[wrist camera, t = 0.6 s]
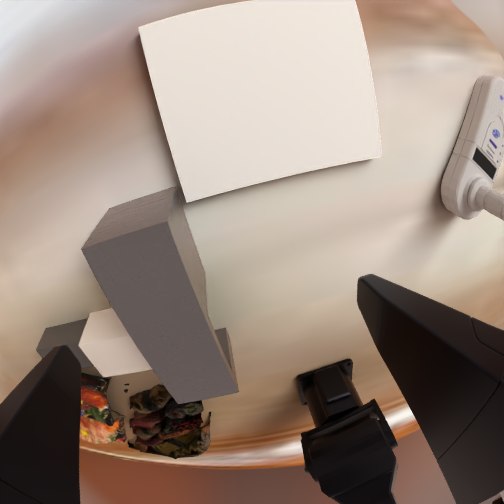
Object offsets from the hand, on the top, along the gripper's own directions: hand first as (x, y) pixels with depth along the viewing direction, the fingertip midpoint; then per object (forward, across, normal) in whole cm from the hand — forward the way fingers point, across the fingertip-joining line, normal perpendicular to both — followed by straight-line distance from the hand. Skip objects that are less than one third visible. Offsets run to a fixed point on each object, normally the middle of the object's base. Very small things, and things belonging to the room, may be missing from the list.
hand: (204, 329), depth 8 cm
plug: (+13, +13, +10) cm, 21 cm away
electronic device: (+14, -25, 0) cm, 29 cm away
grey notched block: (+13, +4, +7) cm, 15 cm away
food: (+14, +17, +24) cm, 33 cm away
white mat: (+13, -6, -6) cm, 16 cm away
